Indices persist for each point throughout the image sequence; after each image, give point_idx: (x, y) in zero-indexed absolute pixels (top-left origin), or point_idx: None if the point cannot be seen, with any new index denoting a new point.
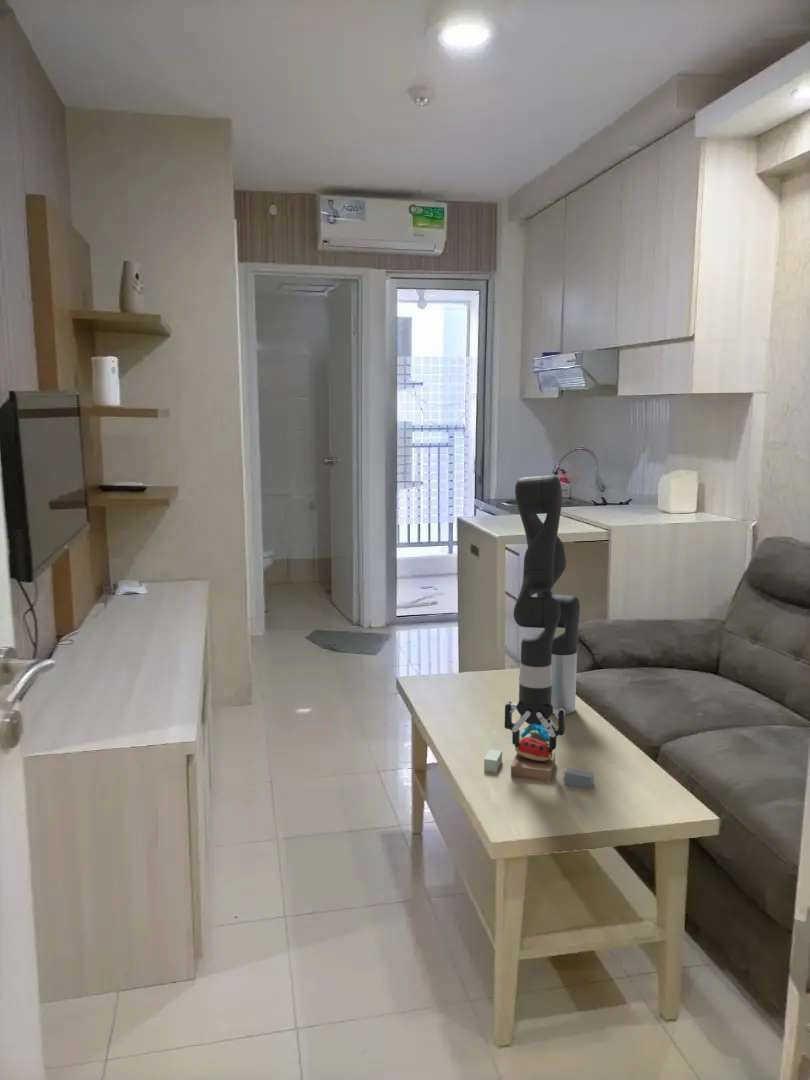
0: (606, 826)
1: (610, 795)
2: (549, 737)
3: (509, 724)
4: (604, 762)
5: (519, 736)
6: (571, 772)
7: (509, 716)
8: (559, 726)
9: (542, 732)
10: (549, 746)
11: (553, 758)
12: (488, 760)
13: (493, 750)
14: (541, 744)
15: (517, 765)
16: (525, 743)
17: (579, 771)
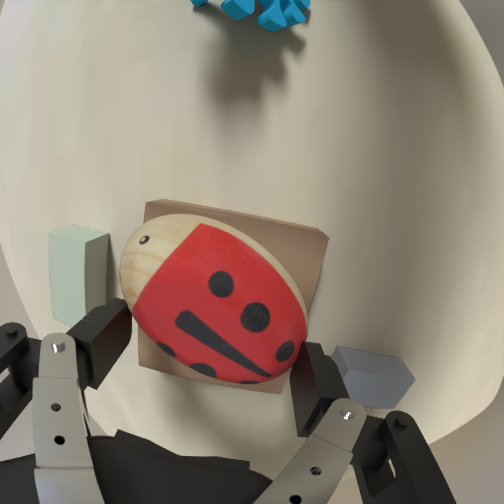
0: (349, 474)
1: (410, 398)
2: (306, 7)
3: (30, 400)
4: (468, 207)
5: (111, 324)
6: (350, 397)
7: (2, 433)
8: (368, 497)
9: (278, 11)
10: (292, 396)
11: (311, 294)
12: (65, 322)
13: (59, 243)
14: (251, 367)
15: (159, 362)
16: (159, 345)
17: (377, 386)
